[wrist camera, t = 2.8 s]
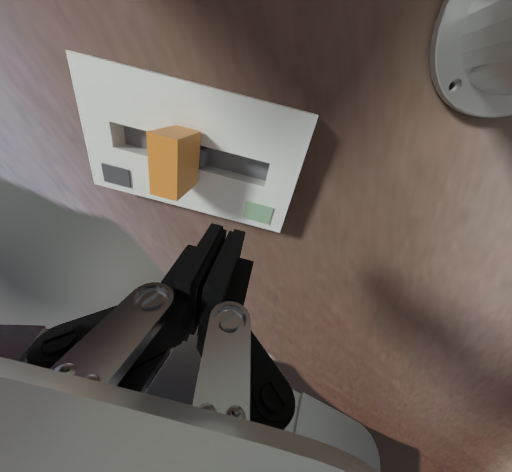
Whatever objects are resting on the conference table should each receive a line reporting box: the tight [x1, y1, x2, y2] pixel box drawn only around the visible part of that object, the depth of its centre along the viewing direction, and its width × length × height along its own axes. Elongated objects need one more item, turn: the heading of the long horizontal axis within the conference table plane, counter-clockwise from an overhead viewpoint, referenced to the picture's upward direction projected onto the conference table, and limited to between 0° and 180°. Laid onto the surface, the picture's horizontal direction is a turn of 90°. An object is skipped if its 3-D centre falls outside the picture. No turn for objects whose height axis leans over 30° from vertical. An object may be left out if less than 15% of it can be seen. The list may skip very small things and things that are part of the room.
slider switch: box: [66, 50, 319, 233], centre depth 23 cm, size 22×12×3 cm, turn 77°
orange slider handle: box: [146, 125, 210, 201], centre depth 20 cm, size 3×5×7 cm, turn 167°
